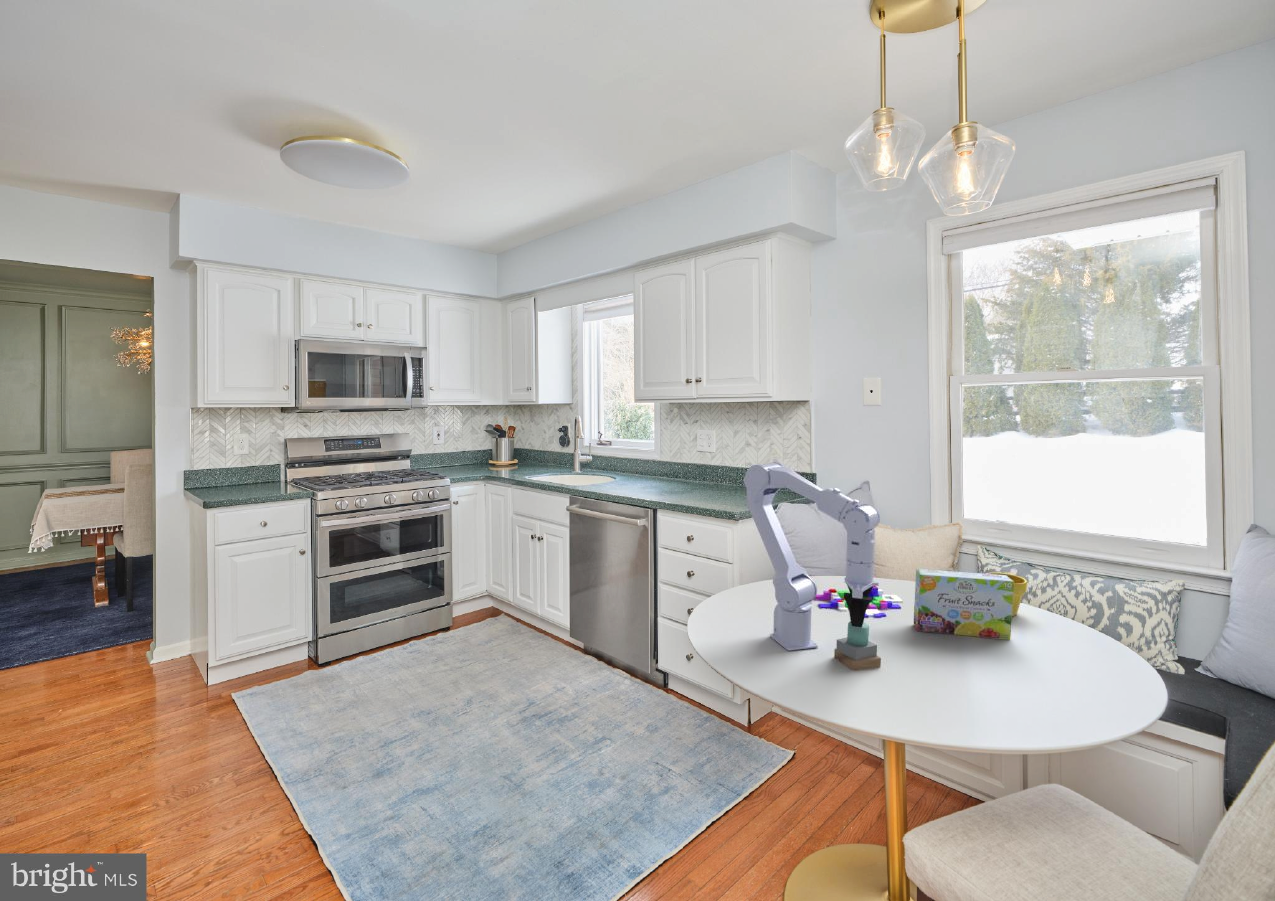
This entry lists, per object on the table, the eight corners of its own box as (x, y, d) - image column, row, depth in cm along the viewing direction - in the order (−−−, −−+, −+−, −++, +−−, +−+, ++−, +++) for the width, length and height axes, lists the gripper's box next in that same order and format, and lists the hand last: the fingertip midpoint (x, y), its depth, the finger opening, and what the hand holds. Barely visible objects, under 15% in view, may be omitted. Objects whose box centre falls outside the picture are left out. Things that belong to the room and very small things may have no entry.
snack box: (917, 632, 155) (920, 573, 153) (913, 624, 160) (915, 567, 159) (1011, 640, 150) (1015, 580, 148) (1003, 632, 155) (1007, 573, 154)
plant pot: (1018, 622, 162) (1020, 585, 161) (975, 611, 169) (977, 577, 168) (1030, 612, 169) (1032, 577, 168) (988, 603, 176) (990, 570, 175)
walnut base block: (834, 659, 140) (834, 648, 140) (861, 655, 142) (861, 645, 141) (852, 672, 133) (852, 661, 133) (880, 668, 135) (880, 657, 135)
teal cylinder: (843, 638, 138) (844, 621, 138) (860, 636, 139) (861, 620, 139) (854, 647, 134) (855, 630, 134) (872, 645, 135) (873, 628, 135)
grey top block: (836, 650, 139) (836, 639, 139) (856, 645, 141) (857, 635, 141) (855, 660, 133) (856, 649, 133) (876, 655, 136) (877, 644, 136)
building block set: (828, 619, 165) (828, 603, 165) (808, 594, 185) (808, 580, 185) (921, 620, 165) (922, 603, 164) (891, 595, 185) (892, 580, 185)
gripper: (878, 570, 127) (876, 634, 128) (880, 554, 140) (877, 612, 141) (842, 567, 130) (840, 629, 131) (847, 551, 143) (845, 607, 144)
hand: (857, 620), depth 136 cm, fingers open, 7 cm apart
